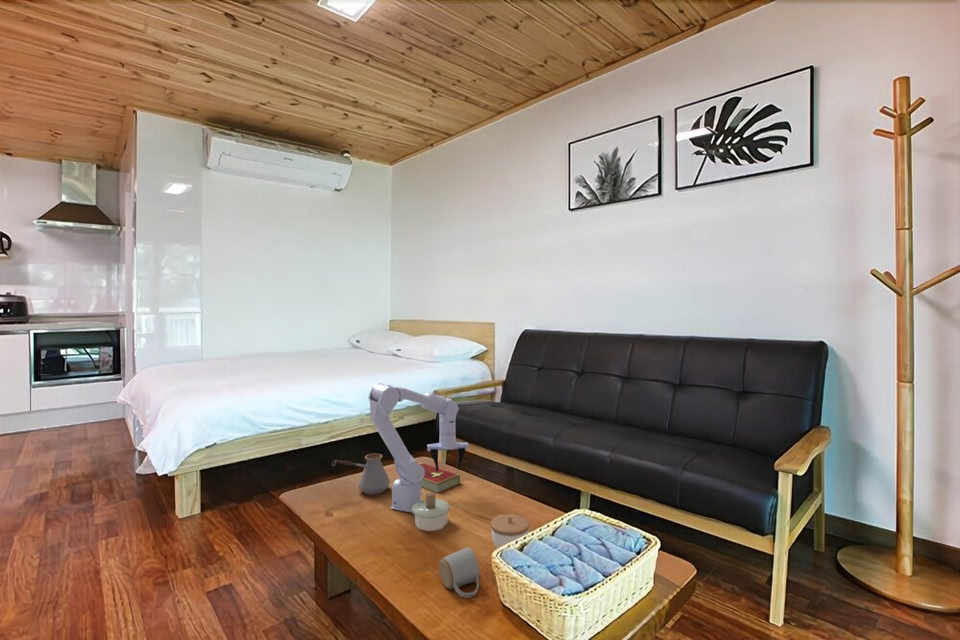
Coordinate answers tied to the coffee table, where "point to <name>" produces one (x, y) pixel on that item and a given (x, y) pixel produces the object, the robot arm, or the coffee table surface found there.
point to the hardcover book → (438, 478)
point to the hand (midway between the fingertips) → (448, 469)
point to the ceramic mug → (460, 571)
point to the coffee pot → (371, 474)
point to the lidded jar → (508, 528)
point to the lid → (430, 507)
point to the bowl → (431, 523)
